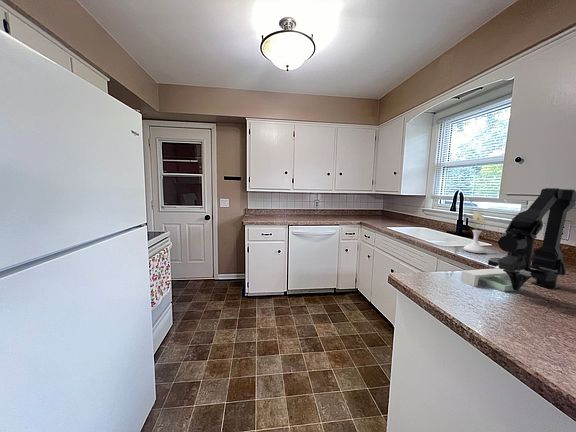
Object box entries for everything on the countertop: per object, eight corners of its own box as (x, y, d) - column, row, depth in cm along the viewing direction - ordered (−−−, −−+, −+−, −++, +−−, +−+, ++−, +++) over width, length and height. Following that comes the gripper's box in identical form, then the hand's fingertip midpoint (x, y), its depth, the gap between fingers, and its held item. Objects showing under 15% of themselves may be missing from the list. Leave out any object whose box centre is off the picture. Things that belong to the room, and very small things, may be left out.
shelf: (499, 278, 109) (500, 268, 108) (513, 283, 103) (515, 272, 103) (460, 281, 103) (462, 270, 102) (473, 286, 97) (475, 275, 97)
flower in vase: (489, 255, 149) (495, 214, 146) (467, 253, 152) (472, 213, 149) (479, 250, 161) (484, 212, 159) (459, 248, 165) (463, 211, 162)
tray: (488, 279, 106) (489, 274, 106) (518, 290, 95) (519, 284, 95) (474, 281, 104) (475, 275, 103) (503, 292, 93) (504, 285, 93)
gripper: (480, 244, 98) (475, 282, 100) (538, 257, 80) (530, 303, 82) (500, 244, 101) (495, 280, 103) (561, 256, 83) (553, 300, 85)
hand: (515, 290), depth 93 cm, fingers closed
